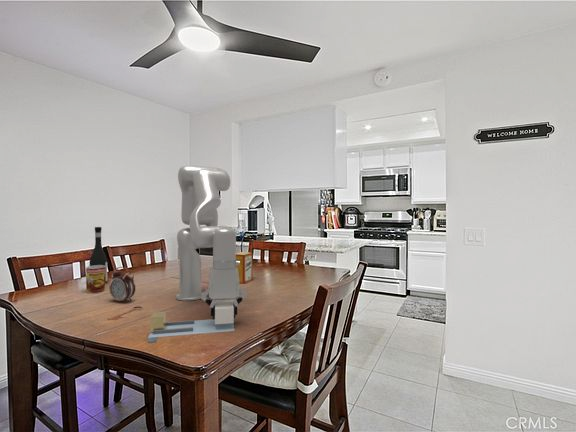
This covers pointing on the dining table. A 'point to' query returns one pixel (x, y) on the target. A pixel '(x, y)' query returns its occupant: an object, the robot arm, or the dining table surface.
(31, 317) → the dining table surface
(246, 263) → the baking soda box
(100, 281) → the canned food
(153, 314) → the block
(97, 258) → the wine bottle
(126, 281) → the alarm clock
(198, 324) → the plate
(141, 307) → the key
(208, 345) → the dining table surface
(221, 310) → the white rectangular block
